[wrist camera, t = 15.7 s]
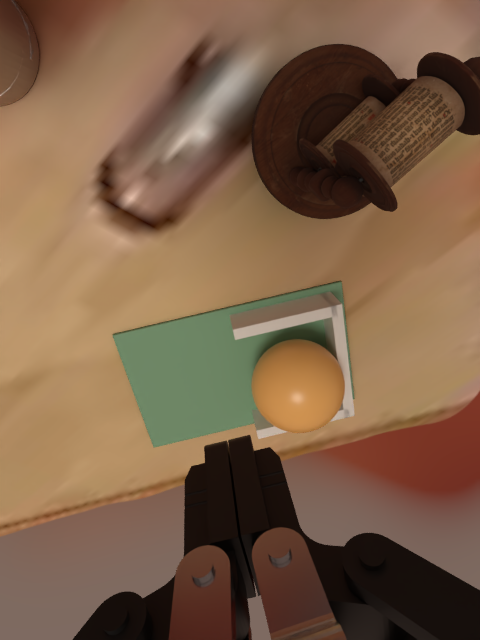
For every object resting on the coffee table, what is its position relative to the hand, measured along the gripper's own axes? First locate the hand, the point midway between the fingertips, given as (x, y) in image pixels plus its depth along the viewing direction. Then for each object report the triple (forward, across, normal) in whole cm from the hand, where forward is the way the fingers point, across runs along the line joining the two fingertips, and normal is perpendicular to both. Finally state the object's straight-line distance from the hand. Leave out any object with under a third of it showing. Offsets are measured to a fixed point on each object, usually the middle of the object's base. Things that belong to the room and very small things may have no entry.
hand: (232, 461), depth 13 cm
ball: (+28, -6, +17) cm, 33 cm away
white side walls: (+33, -7, +16) cm, 37 cm away
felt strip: (+33, -1, +16) cm, 37 cm away
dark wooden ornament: (+33, -14, -7) cm, 37 cm away
